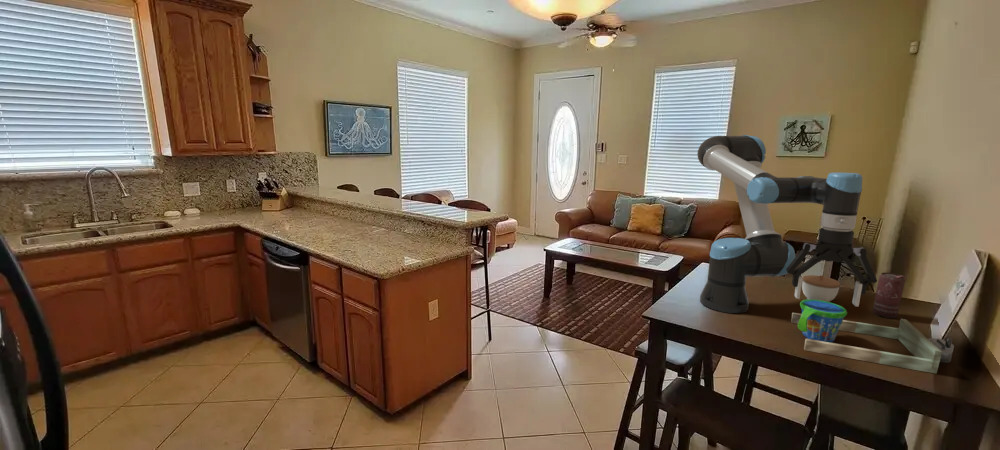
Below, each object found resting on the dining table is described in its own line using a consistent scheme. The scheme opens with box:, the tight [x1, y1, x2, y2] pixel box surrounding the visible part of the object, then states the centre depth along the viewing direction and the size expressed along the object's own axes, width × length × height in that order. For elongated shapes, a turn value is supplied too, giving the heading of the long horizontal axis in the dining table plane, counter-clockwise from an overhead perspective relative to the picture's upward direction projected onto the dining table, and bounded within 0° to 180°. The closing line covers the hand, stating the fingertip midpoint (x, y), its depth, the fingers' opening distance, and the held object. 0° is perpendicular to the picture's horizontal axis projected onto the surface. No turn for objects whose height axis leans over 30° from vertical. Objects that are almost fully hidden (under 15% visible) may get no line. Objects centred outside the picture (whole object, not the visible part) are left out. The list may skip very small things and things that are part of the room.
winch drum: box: [927, 337, 955, 364], centre depth 109 cm, size 5×6×7 cm
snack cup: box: [797, 298, 848, 343], centre depth 121 cm, size 16×10×10 cm
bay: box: [790, 312, 942, 374], centre depth 118 cm, size 27×20×6 cm
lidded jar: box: [801, 274, 841, 302], centre depth 149 cm, size 11×11×9 cm
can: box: [872, 272, 906, 319], centre depth 136 cm, size 6×6×14 cm
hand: (825, 301), depth 119 cm, fingers open, 13 cm apart
